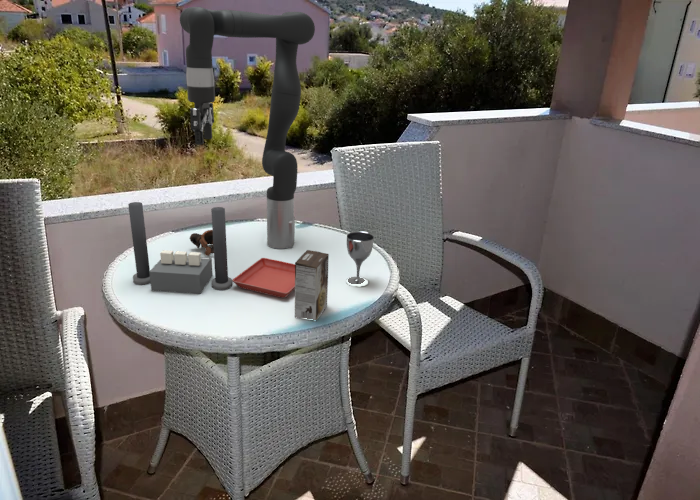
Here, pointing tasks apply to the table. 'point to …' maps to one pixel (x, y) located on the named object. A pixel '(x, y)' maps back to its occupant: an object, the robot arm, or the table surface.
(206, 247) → the brown curved piece
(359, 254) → the wine glass
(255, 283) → the plant saucer
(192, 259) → the paddles
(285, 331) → the table surface
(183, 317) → the table surface
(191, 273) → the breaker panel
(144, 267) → the post
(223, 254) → the post
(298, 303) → the coffee box
